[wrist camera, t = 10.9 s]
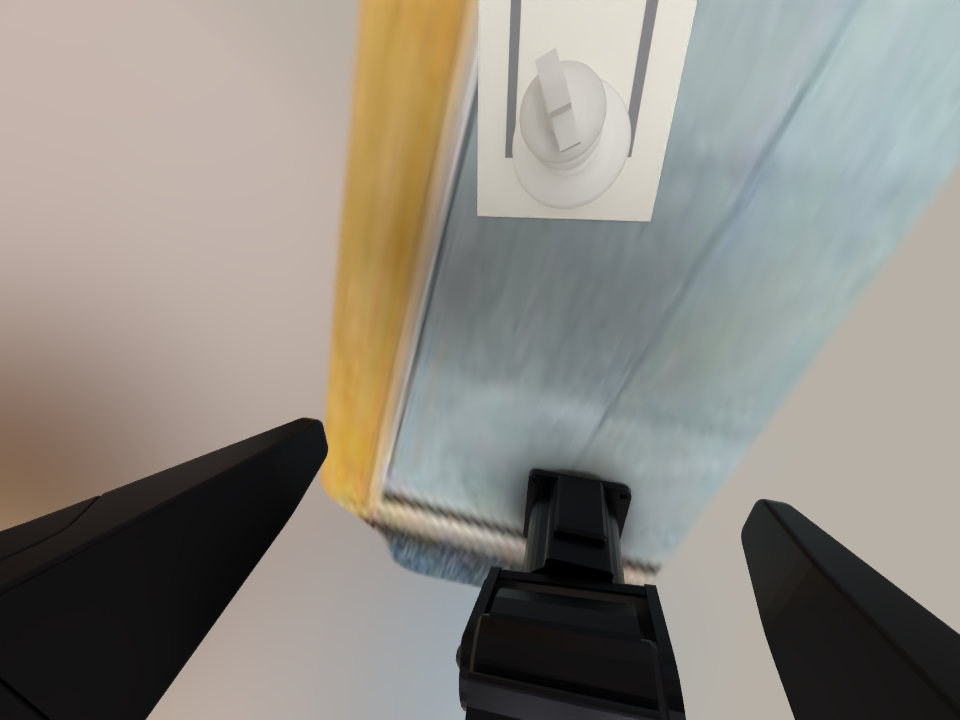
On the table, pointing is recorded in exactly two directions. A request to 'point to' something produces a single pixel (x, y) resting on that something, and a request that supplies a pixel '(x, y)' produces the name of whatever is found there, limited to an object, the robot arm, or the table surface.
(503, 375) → the table surface
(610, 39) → the slotted cream plate
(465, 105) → the table surface
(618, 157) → the chess piece
